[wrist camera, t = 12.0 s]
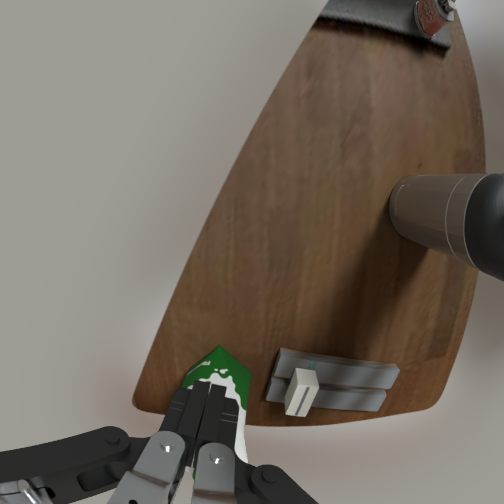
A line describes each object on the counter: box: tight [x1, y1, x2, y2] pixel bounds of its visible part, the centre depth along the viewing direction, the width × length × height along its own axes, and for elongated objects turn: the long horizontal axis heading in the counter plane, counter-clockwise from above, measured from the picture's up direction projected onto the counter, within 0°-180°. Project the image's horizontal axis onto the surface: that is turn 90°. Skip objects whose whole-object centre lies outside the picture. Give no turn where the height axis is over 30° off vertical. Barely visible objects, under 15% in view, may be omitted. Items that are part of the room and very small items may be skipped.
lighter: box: [414, 0, 456, 39], centre depth 24 cm, size 8×3×10 cm, turn 175°
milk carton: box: [181, 345, 252, 479], centre depth 33 cm, size 9×9×20 cm
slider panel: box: [266, 347, 400, 411], centre depth 41 cm, size 20×9×2 cm, turn 78°
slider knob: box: [285, 368, 319, 417], centre depth 38 cm, size 3×6×5 cm, turn 168°
